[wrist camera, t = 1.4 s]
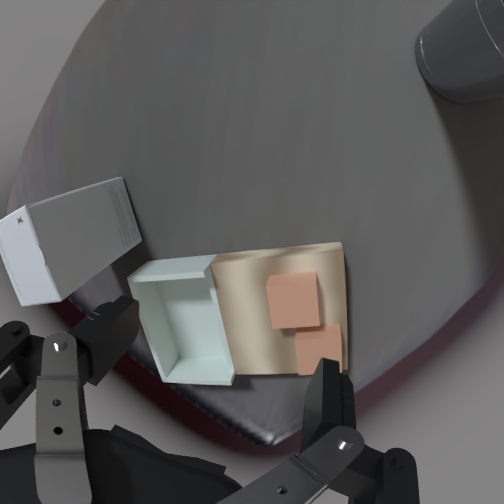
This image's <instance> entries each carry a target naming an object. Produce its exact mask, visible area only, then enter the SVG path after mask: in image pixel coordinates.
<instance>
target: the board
mask: <svg viewBox="0 0 504 504" xmlns="http://www.w3.org/2000/svg"><path fill="white" fill-rule="evenodd" d="M210 268H211V272H212V277H213V282H214V286H215V291H216V295H217V300H218V304H219V308H220V313H221V317H222V321H223V326H224V330H225V334H226V338H227V343H228V347H229V351H230V355H231V359H232V363H233V367H234V371H235V374H287V373H299V372H298V363H297V354H296V346H295V336H296V328H280V329H272V322H271V316H270V310H269V303H268V297H267V290H266V284H267V281H268V278H269V276H270V275H282V274H293V273H304V272H315V271H316V276H317V287H318V299H319V311H320V325H331V324H340V329H341V341H342V370H348V347H347V306H346V284H345V266H344V252H343V248H342V244H341V242H333V243H323V244H313V245H303V246H293V247H283V248H273V249H263V250H253V251H243V252H233V253H223V254H217V256H216V257H215V258H214V259H213V260H212V262H211V263H210Z"/></svg>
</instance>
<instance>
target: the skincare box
mask: <svg viewBox="0 0 504 504" xmlns="http://www.w3.org/2000/svg"><path fill="white" fill-rule="evenodd" d="M141 241H142V238H141V235H140V232H139V229H138V226H137V223H136V220H135V216H134V213H133V210H132V207H131V204H130V200H129V197H128V194H127V190H126V187H125V184H124V180H123V177H117V178H114V179H110V180H107V181H103V182H100V183H97V184H93V185H90V186H86V187H83V188H80V189H77V190H74V191H70V192H67V193H64V194H61V195H58V196H55V197H52V198H49V199H46V200H43V201H40V202H37V203H33V204H30V205H25V206H23V207H21V208H20V209H18V210H16V211H14V212H13V213H11V214H9V215H8V216H6V217H5V218H3V219H1V220H0V253H1V256H2V259H3V262H4V264H5V267H6V270H7V272H8V275H9V277H10V280H11V282H12V285H13V287H14V289H15V292H16V294H17V297H18V299H19V301H20V304H21V306H30V305H38V304H45V303H53V302H60V301H62V300H63V299H65V298H66V297H67V296H68V295H70V294H71V293H72V292H73V291H75V290H76V289H77V288H79V287H80V286H81V285H83V284H84V283H85V282H87V281H88V280H89V279H91V278H92V277H93V276H95V275H96V274H97V273H99V272H100V271H101V270H103V269H104V268H105V267H107V266H108V265H109V264H111V263H112V262H114V261H115V260H116V259H118V258H119V257H120V256H122V255H123V254H125V253H126V252H127V251H129V250H130V249H132V248H133V247H134V246H136V245H137V244H139V243H140V242H141Z"/></svg>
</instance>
